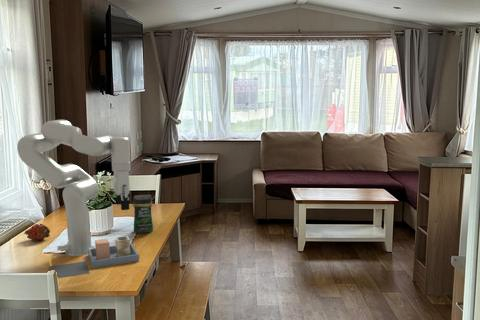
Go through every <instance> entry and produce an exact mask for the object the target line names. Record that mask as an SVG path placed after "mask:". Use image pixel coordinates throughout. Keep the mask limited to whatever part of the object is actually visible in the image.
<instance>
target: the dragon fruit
mask: <svg viewBox="0 0 480 320" xmlns="http://www.w3.org/2000/svg"><path fill="white" fill-rule="evenodd" d="M50 232H51V231H50V228H49V227H48V226H46V225H45V224H43V223H38V224H37V223H36V224H33V225H32V226H31V227H30V228H28V229H27V230H25V232H24V235H26V236H27V237H26V238H27V239H29V240H34V242H37V241H44V240H45V239H46V238H49V237H50V236H51V235H50Z"/></svg>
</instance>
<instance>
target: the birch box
mask: <svg viewBox="0 0 480 320" xmlns="http://www.w3.org/2000/svg"><path fill="white" fill-rule="evenodd" d="M130 241H131V239H130V237H129V236H128V235H125V236H118V237H115V245H116V255H117V257H122V256H129V255H130V243H131V242H130Z"/></svg>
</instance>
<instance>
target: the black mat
mask: <svg viewBox="0 0 480 320" xmlns="http://www.w3.org/2000/svg"><path fill="white" fill-rule="evenodd" d="M87 263H88V262H87V261H86V260H84V261H76V262H72V263H71V262H70V263H65V264H57V265H52V266H51V265H50V266H49V271H50V270H55V271H56V272H57V277H58V278H57V279H61V278H62V279H63V278H69V277H76V276H82V275H88V274H90V270H89V267H88V264H87Z"/></svg>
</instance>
